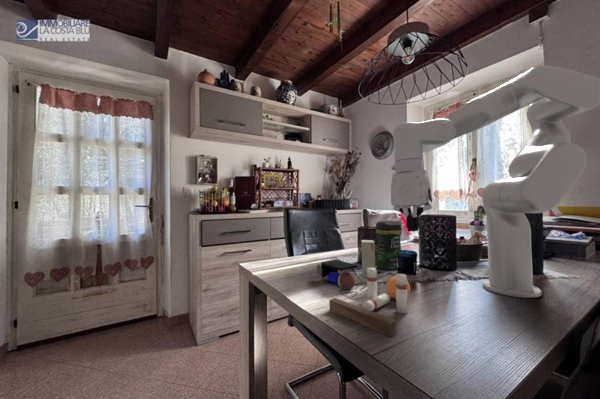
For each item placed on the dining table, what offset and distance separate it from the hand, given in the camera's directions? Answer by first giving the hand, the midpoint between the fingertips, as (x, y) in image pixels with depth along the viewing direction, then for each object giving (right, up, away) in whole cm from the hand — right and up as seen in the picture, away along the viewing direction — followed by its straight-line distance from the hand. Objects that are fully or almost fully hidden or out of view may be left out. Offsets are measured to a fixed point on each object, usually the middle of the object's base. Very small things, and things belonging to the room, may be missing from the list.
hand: (413, 230), depth 70 cm
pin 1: (-14, -18, -6) cm, 23 cm away
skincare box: (-8, -18, +17) cm, 26 cm away
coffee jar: (+3, -18, +26) cm, 32 cm away
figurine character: (-21, -18, +8) cm, 29 cm away
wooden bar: (-19, -18, -16) cm, 31 cm away
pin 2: (-8, -17, -12) cm, 23 cm away
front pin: (-11, -16, -7) cm, 21 cm away
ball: (-6, -15, -5) cm, 17 cm away
